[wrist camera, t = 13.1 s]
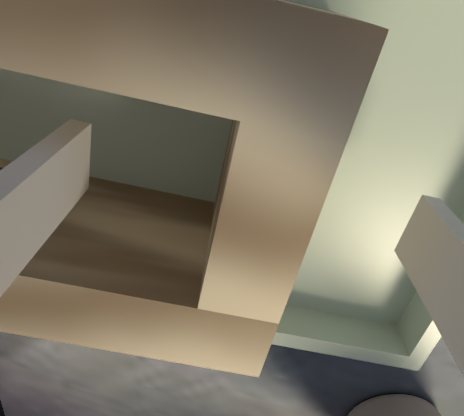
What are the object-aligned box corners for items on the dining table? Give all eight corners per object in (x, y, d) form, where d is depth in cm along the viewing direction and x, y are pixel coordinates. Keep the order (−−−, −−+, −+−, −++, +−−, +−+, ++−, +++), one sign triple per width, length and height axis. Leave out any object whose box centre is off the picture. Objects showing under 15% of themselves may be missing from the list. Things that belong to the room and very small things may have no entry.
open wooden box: (256, 257, 23) (258, 377, 16) (-144, 178, 21) (-334, 272, 14) (330, 11, 17) (389, 29, 10) (-229, -126, 15) (-641, -222, 8)
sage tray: (401, 332, 26) (418, 370, 23) (-175, 223, 24) (-228, 252, 21) (619, -36, 16) (692, -40, 13) (-353, -295, 13) (-498, -363, 11)
